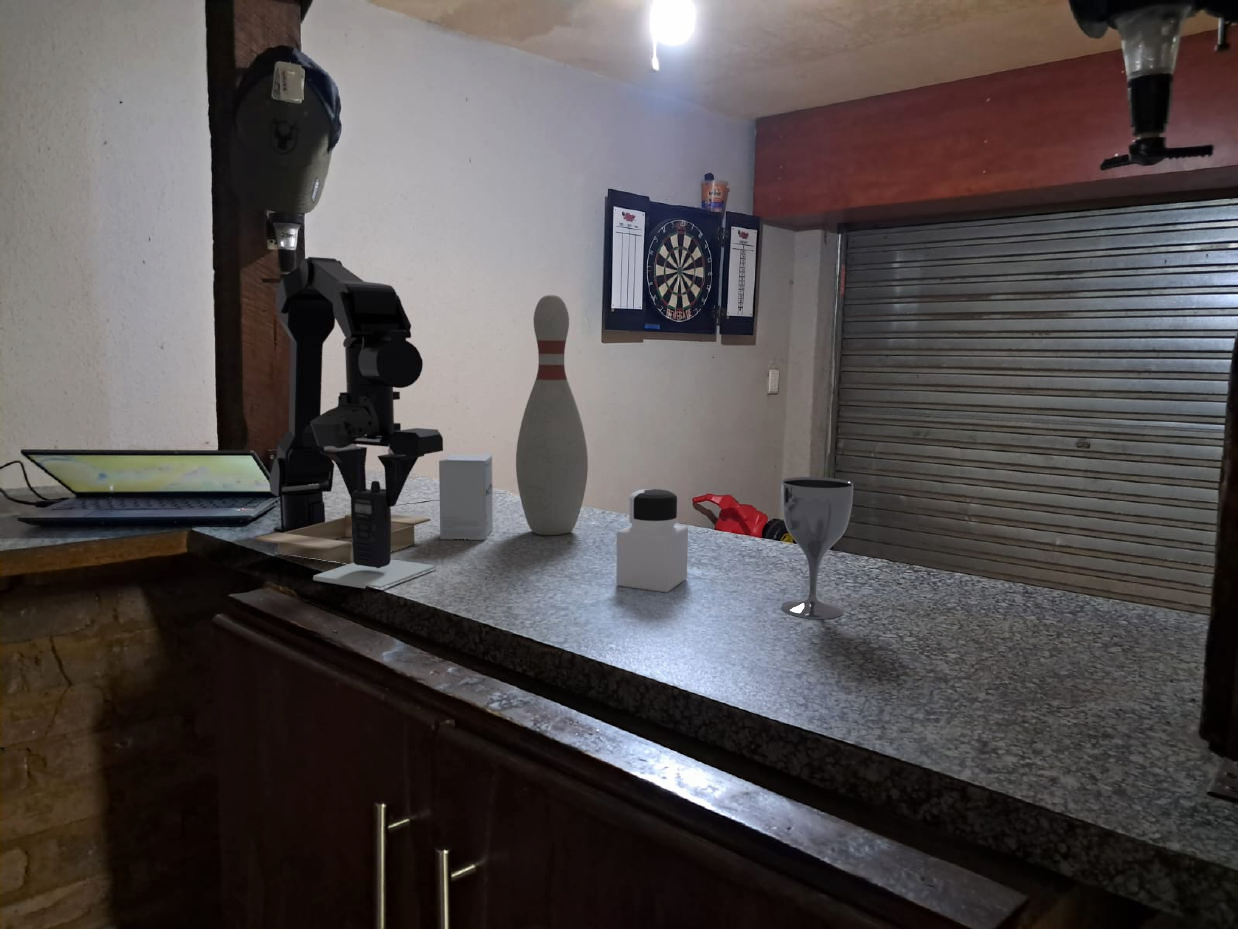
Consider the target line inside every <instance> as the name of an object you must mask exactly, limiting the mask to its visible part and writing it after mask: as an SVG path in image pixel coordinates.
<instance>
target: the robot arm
mask: <svg viewBox="0 0 1238 929" xmlns="http://www.w3.org/2000/svg"><path fill="white" fill-rule="evenodd" d="M276 289H277V290H276V292H275V308H276V311H277V313H278V315H279V316H278V317H279V322H280V324H281V326H282V328H284V331H285V332H286V334H287V335H288V337H289V339H290V346H289V347H290V348H289V350H290V351H289V354H290V356H289V357H290V358H289V361H290V362H289V402H288V403H289V405H288V409H289V410H288V412H289V413H288V430H286V433H285V434H284V435H283V436H282V438H281V439H280V441H279V442H278V444H277V451H276V458H274V459H273V463H272V468H271V471H270V475H269V480H268V483H269V490H270V493H271V494H273V495H274V496H276V497H277V498H279V509H280V525H279V526H276V527H275V526H274V527H273V531H274V532H279V533H284V532H288V531H292V530H296V529H300V528H304V527H308V526H312V525H316V524H320V523H324V522H326V512H325V511H326V510H325V506H326V505H325V501H324V498H323V497H324V495H323V493H326V492H327V493H330V492H332V489H333V488H332V487H333V484H334V483H333V482H334V481H333V480H334V470H335V465H336V467H337V469H338V471H339V473H340V475H341V477H342V480H343V482H344V485H345V487H346V489H347V493H348V494H349V497H350V498H351V495H352V492H354V491H355V490H357V489H358V453H359V452H361V451H362V452H363V453H364V460H365V463H367V462H366V461H367V452H368V447H367V446H372V447H373V446H375V447H377V446H378V447H387V448H388V450H387V451H388V452H387V453H386V454H381V455H377V458H378V460H379V461H380V462H381V464H382V466H383V467H384V483H385V484H384V486H385V489H386V500H387V506H388V507H391V508H392V507H395V506H396V505H397V502H398V500H399V497H400V496H401V493H402V490H403V488H404V486H405V484H406V481H407V479H408V477H409V475H410V473H411V471H412V470H413V468H414V465H415V464H416V463H417V460H418V459H419V458H421V457H424V456H425V455H427V454H433V453H438V452H444V438H443V435H442V434H441V432H440V431H439V430H438V429H436V428H435V429H434V428H424V427H421V428H419V427H417V428H416V427H415V428H408V429H407V428H406V429H402V428H401V423H400V422H395V411H394V410H395V408H394V404H395V403H394V401H395V400H401V391H394V388H396V389H402V388H409V387H410V386H412V385H413V384H414V383H416V381H417V380H419V378H420V377H421V374H422V371H423V366H424V365H423V364H424V363H423V358H422V356H421V353H420V351H419V350H418V348H417V347H416V345H414V344H413V343H412V342H410V341H408V340H407V339H411V337H412V332H411V328H412V324H411V322H410V320H409V317H408V315H407V313H406V311H405V308H404V307H403V304H402V300H401V298H400V296H399V295H398V294H397V292H396V290H395V288H394V287H393V286H392V285H390V284H385V283H378V282H371V281H370V282H369V281H366V280H363V279H361V278H360V277H359V276H357V275H356V274H354V273H353V272H352V271H350V270H349V269H348V268H346V267H345V266H343V263H342V262H341V260H337V259H336V258H331V257H317V256H316V257H315V256H308V257H307V258H306V257H305V258H303V259H302V260H301V263H300V264H299V266H298V267H297V268H295V269H293V270H291V271H290V272H289V273H287V274H285V275H283V276H282V277H281V279H280V282H279V283H278V287H277V288H276ZM336 323H337V324H338V326H339V328H340V330H341V332H342V333H343V335H344V337H345V338H344V340H343V343H342V345H343V347H344V348H345V350H344V351H345V353H344V354H345V355H344V356H345V381H346V382H345V383H346V391H342V392H339V396H338V399H337V402H338V403H337V406H336V407H334V408H330V409H328V410H327V411H325V412H324V413H322V414H321V411H322V408H321V407H322V406H321V405H322V381H323V380H322V377H323V375H322V374H323V350H324V349H323V348H324V347H323V346H324V343H325V341H326V340H327V339H328V337H330V335H331V333H332V332H333V331H334V329H335V325H336ZM357 445H358V446H357ZM361 445H362V446H361Z"/></svg>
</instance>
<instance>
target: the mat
mask: <svg viewBox="0 0 1238 929" xmlns="http://www.w3.org/2000/svg"><path fill="white" fill-rule="evenodd" d="M434 568H436V569H437V565H431V564H425V563H419V562H413V561H412V562H411V561H405V560H399V559H398V560H396V559H391V560H390V564H389V565H387V566H384V567H381V568H376V567H368V566H362V565H356V564H355V563H351V564H348V565H342V566H339V567H336V568H332V569H330V570H326V571H324V572H321V573H317V574H315V575H312V576H313V577H312V580H313V581H317V582H321V583H322V582H323V583H327V584H335V585H340V586H348V587H352V588H360V589H365V588H366V586H372V587H378V588H381V587H384V586H386V585H391V584H393V583H396V582H400V581H402V580H405V579H407V578H411V577H413V576H415V575H419V574H422V573H423V572H428V571H430V570H431V569H434ZM365 590H366V589H365Z"/></svg>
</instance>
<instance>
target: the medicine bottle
mask: <svg viewBox="0 0 1238 929" xmlns="http://www.w3.org/2000/svg"><path fill="white" fill-rule="evenodd" d="M677 516H678V495H676V494H675V493H674V492H673V491H669V490H666V489H660V488H646V489H639V490H636V491H634V492H632V493H631V494H630V496H629V519H628V520H629V523H630V524H631V525H628V526H626V527H625V528H623V529H620V530H618V531H617V532H616V573H615V574H616V582H615V584H616V585H617V587H622V588H623V587H625V588H630V589H639V590H645V591H653V592H660V593H661V592H662V593H668V592H670V591H671V590H673V589H674V588H676V587H678V585H681V583H682V582H685V581H686V580H687V578H688V547H689V546H688V545H689V544H688V543H689V542H688V541H689V536H688V535H689V528H688V526H686V525H685V526H684V525H678V524H677V522H678V520H677V519H678V517H677Z"/></svg>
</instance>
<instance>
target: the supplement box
mask: <svg viewBox="0 0 1238 929" xmlns="http://www.w3.org/2000/svg"><path fill="white" fill-rule="evenodd" d="M438 470H439V471H438V475H439V476H438V478H439V485H438V486H439V487H438V488H439V533H440V534H439V539H440V540H454V539H458V541H459V539H461V540H460V541H485V540H486V539H487V537H488V536H489V534H490V533H491V532H492V531H493V530H494V528H493V527H494V526H493V525H494V524H493V523H494V522H493V519H494V518H493V516H494V514H493V512H494V510H493V506H494V505H493V504H494V503H493V501H494V500H493V496H494V495H493V494H494V493H493V492H494V491H493V489H494V488H493V486H494V485H493V455H492V454H491V455H490V454H448V455H447V456H445V457H443V458H442V459H440V460H438ZM462 539H464V540H462ZM466 539H468V540H466Z"/></svg>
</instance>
